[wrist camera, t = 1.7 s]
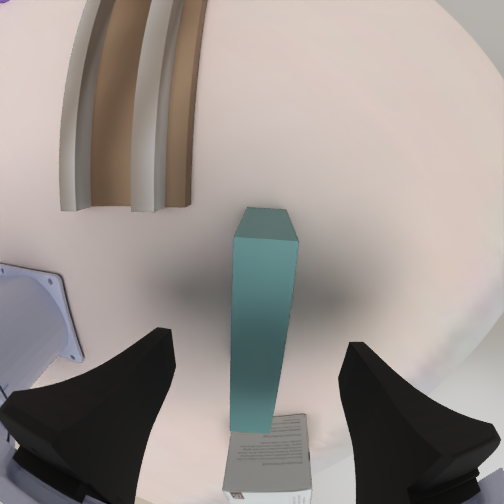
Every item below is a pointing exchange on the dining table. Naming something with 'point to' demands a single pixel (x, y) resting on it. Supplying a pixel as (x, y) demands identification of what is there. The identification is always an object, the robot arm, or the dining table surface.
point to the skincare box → (270, 464)
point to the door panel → (260, 314)
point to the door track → (131, 105)
